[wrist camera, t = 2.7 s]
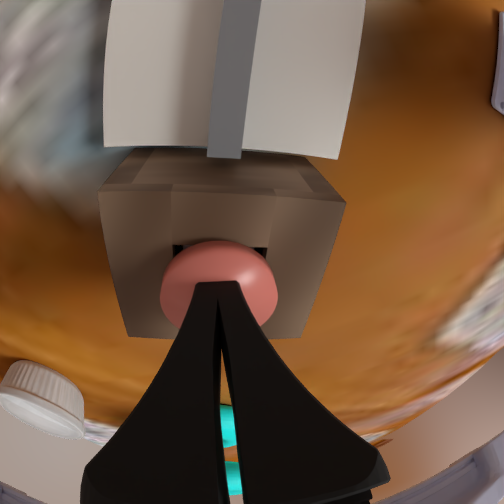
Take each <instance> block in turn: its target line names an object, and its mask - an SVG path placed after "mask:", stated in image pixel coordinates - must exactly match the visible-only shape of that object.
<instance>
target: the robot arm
mask: <svg viewBox="0 0 504 504" xmlns="http://www.w3.org/2000/svg"><path fill="white" fill-rule="evenodd" d="M491 103H492V106H493V107H494V108H495V109H496V110H498V111H499V112H500V113H502V114H503V115H504V12H500V14H499V43H498V56H497V65H496V73H495V80H494V87H493V93H492V98H491ZM221 348H222V354H223V360H224V366H225V371H226V377H227V382H228V387H229V393H230V398H231V403H232V409H233V416H234V426H235V435H236V444H237V453H238V462H239V470H240V479H241V487H242V494H243V502H244V504H370V502H369V500H370V499H372V494H371V490H370V489H372V488H375V487H378V486H380V485H383V484H385V483H388V482H389V481H390V475H389V472H388V469H387V466H386V464H385V462H384V460H383V458H382V456H381V455H380V453H379V451H378V449H377V448H375V447H374V446H372V445H371V444H370V443H368V442H367V441H365V440H364V439H363V438H361V437H360V436H359V435H357V434H356V433H355V432H353V431H352V430H351V429H349V428H348V427H347V426H346V425H345V424H343V423H342V422H341V421H340V420H339V419H337V418H336V417H335V416H334V415H333V414H332V413H331V412H330V411H329V410H327V409H326V408H325V407H324V406H323V405H322V404H321V403H320V402H319V401H318V400H317V399H316V398H315V397H314V396H313V395H312V394H311V393H310V392H309V391H308V390H307V389H306V388H305V387H304V385H303V384H302V383H301V382H300V381H299V380H298V379H297V378H296V376H295V375H294V374H293V373H292V372H291V370H290V369H289V368H288V367H287V365H286V364H285V363H284V362H283V360H282V359H281V358H280V356H279V355H278V354H277V352H276V351H275V349H274V348H273V346H272V345H271V343H270V342H269V341H268V339H267V337H266V336H265V334H264V333H263V331H262V329H261V328H260V326H259V324H258V323H257V321H256V319H255V317H254V316H253V314H252V312H251V310H250V308H249V306H248V304H247V302H246V299H245V297H244V295H243V292H242V290H241V287H240V283H239V282H237V281H236V280H234V281H214V282H198V283H197V284H196V285H195V288H194V292H193V296H192V299H191V302H190V305H189V307H188V310H187V313H186V315H185V318H184V320H183V322H182V325H181V327H180V329H179V332H178V334H177V336H176V338H175V340H174V342H173V344H172V346H171V348H170V350H169V352H168V354H167V356H166V358H165V360H164V362H163V364H162V366H161V367H160V369H159V371H158V373H157V374H156V376H155V378H154V379H153V381H152V383H151V384H150V386H149V387H148V389H147V390H146V392H145V393H144V395H143V396H142V398H141V400H140V401H139V403H138V404H137V405H136V407H135V408H134V410H133V411H132V412H131V414H130V415H129V416H128V418H127V419H126V420H125V421H124V423H123V424H122V425H121V426H120V428H119V429H118V430H117V432H116V433H115V434H114V435H113V437H112V438H111V439H110V440H109V441H108V442H107V443H106V445H105V446H104V447H103V448H102V449H101V450H100V451H99V452H98V453H97V454H96V455H95V456H94V457H93V459H92V460H91V461H90V462H89V463H88V464H87V465H86V466H85V469H84V473H83V477H82V483H81V492H80V504H230V498H229V491H228V483H227V475H226V466H225V457H224V448H223V438H222V427H221V416H220V386H221ZM503 497H504V431H502V432H501V433H500V434H498V435H497V436H496V437H494V438H492V439H491V440H490V441H489V442H487V443H485V444H484V445H482V446H481V447H479V448H476V449H475V450H473V451H471V452H469V453H468V454H466V455H465V456H463V457H462V458H460V459H458V460H457V461H455V462H454V463H452V464H450V466H449V467H448V468H446V469H445V470H443V471H441V472H440V473H438V474H436V475H434V476H432V477H430V478H429V479H427V480H425V481H423V482H421V483H419V484H417V485H415V486H412V487H410V488H409V489H406V490H404V491H402V492H400V493H397V494H395V495H393V496H390V497H388V498H385V499H383V500H380V501H378V502H375V503H372V504H497V503H498V502H499V501H500V500H501V499H502V498H503ZM0 504H47V503H44V502H42V501H39V500H37V499H34V498H32V497H29V496H27V494H26V493H24V492H22V491H20V490H18V489H16V488H14V487H12V486H9V485H8V484H5V483H3V482H1V481H0Z"/></svg>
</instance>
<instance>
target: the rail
mask: <svg viewBox="0 0 504 504" xmlns="http://www.w3.org/2000/svg"><path fill="white" fill-rule="evenodd" d="M365 5H366V0H112V4H111V10H110V17H109V24H108V32H107V41H106V52H105V66H104V87H103V131H104V147H117V146H207V157H217V158H234V159H241V151H242V149H255V150H266V151H276V152H285V153H293V154H301V155H309V156H316V157H323V158H330V159H336V160H338V156H339V151H340V147H341V142H342V138H343V133H344V129H345V124H346V119H347V114H348V109H349V104H350V99H351V94H352V89H353V83H354V78H355V72H356V66H357V61H358V54H359V48H360V42H361V35H362V28H363V21H364V13H365Z"/></svg>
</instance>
